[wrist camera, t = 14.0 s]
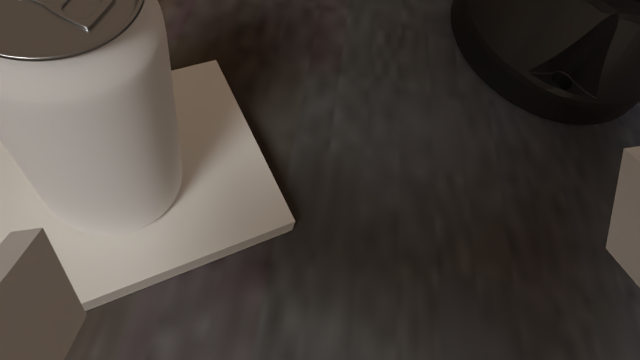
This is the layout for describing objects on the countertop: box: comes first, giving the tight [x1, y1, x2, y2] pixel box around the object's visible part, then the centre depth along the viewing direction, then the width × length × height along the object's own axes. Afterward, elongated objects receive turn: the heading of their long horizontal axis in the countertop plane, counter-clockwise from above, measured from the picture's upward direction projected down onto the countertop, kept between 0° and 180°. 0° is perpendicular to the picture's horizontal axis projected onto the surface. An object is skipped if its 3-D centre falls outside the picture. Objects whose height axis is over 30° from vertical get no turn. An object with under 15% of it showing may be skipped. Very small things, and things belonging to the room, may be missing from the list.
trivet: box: [0, 60, 295, 311], centre depth 26 cm, size 14×11×1 cm
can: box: [0, 0, 182, 236], centre depth 20 cm, size 6×6×12 cm
